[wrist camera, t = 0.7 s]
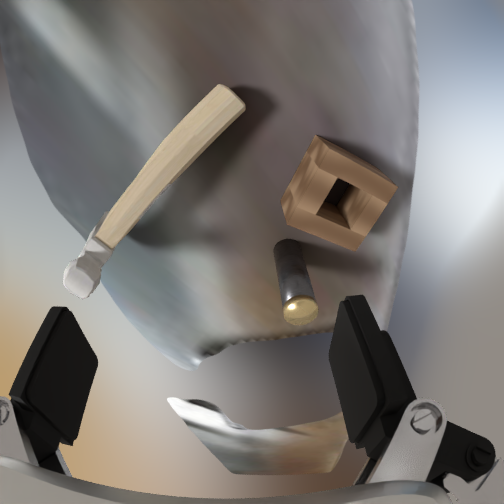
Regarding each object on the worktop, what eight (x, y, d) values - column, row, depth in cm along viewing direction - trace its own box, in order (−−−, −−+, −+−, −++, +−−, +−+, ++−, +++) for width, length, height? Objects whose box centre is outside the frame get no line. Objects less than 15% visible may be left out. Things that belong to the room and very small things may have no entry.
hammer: (228, 75, 25) (55, 284, 31) (261, 107, 28) (86, 306, 33) (213, 88, 39) (88, 234, 44) (236, 109, 41) (109, 251, 47)
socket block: (315, 134, 38) (329, 148, 33) (377, 168, 41) (398, 187, 36) (280, 200, 44) (287, 224, 38) (341, 226, 47) (355, 251, 41)
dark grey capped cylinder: (281, 235, 48) (294, 297, 36) (305, 244, 49) (324, 306, 37) (269, 256, 50) (278, 320, 38) (292, 264, 51) (307, 328, 40)
